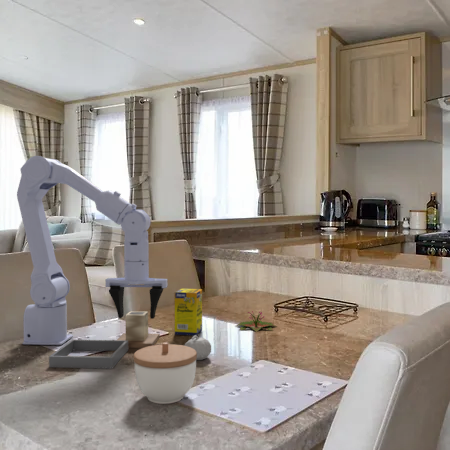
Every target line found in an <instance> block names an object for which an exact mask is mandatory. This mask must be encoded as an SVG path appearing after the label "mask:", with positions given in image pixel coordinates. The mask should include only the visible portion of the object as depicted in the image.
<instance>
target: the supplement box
mask: <svg viewBox="0 0 450 450" xmlns="http://www.w3.org/2000/svg"><path fill="white" fill-rule="evenodd" d="M173 294H174V297H173V298H174V335H177V336H192V337H193V336H195V335H196V336H198V334H200V333H201V332H202V331H203V289H202V288H201V289H200V288H180V289H178V290H177V291H174V293H173Z"/></svg>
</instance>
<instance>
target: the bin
mask: <svg viewBox="0 0 450 450" xmlns="http://www.w3.org/2000/svg"><path fill="white" fill-rule="evenodd" d="M73 351H108V352H109V351H113V353H112V354H110V356H95V355H93V356H91V355H90V356H89V355H88V356H86V355H85V356H84V355H80V356H79V355H69V354H71V353H72V352H73ZM128 351H129V348H128V340H117V339H116V340H115V339H71V340H68V342H67V343H66V344H64V345H63V346H61V347H60V348H59V349H57V350H56V351H55V352H53V353H51V355H49V356H48V367H49V368H63V369H64V368H68V369H69V368H71V369H73V368H76V369H113V368H114V367H115V365H117V364H118V362H119V361H120V360H121V359H122V358H123V357H124V356H125V354H126V353H127V352H128Z"/></svg>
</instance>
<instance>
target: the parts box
mask: <svg viewBox="0 0 450 450" xmlns="http://www.w3.org/2000/svg"><path fill="white" fill-rule="evenodd" d="M125 333H126V340H128V341H145V339H146V338H147V337H148V334H149V311H147V310H146V311H143V310H141V311H140V310H139V311H137V310H134V311H133V310H131V311H129V312H128V313H126V314H125Z"/></svg>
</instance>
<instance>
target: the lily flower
mask: <svg viewBox="0 0 450 450" xmlns="http://www.w3.org/2000/svg"><path fill="white" fill-rule="evenodd" d="M251 312H252V313H251ZM251 312H249V311H248V312H247V313H248V314H250V316H249V317H248V319H250V320H249V321H240V323H238V324H236V325H235V327H239V326H240V327H239V331H242V330H243V331H244V330H247V329H248V328H250V329H251V330H253V331H255V333H257V332H259V330H262V328H263V329H264V328H266V330H267V331H268V330H269V331H272V332H273V331H274V329H273V328H272V327H278V325H275V324H273V322H271V321H262V319H264V318H265V316H263V312H262V311H259V312H258V314H257V316H256V315H255V313H254V311H252V310H251ZM247 327H248V328H247Z"/></svg>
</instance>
